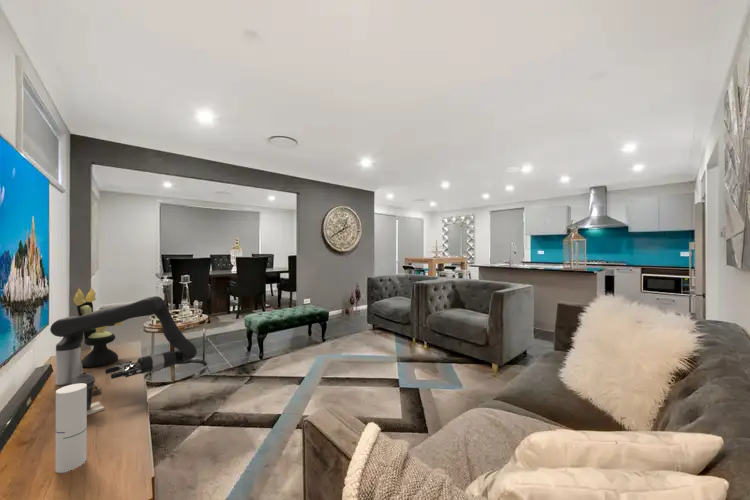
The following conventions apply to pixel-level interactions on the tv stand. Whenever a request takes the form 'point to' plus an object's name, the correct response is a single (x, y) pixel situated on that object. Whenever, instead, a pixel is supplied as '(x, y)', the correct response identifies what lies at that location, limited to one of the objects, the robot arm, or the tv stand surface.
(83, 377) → the beverage cup
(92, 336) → the black yellow plant sculpture
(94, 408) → the ash board
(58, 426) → the cylindrical container
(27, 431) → the tv stand surface
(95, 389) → the marble tray
